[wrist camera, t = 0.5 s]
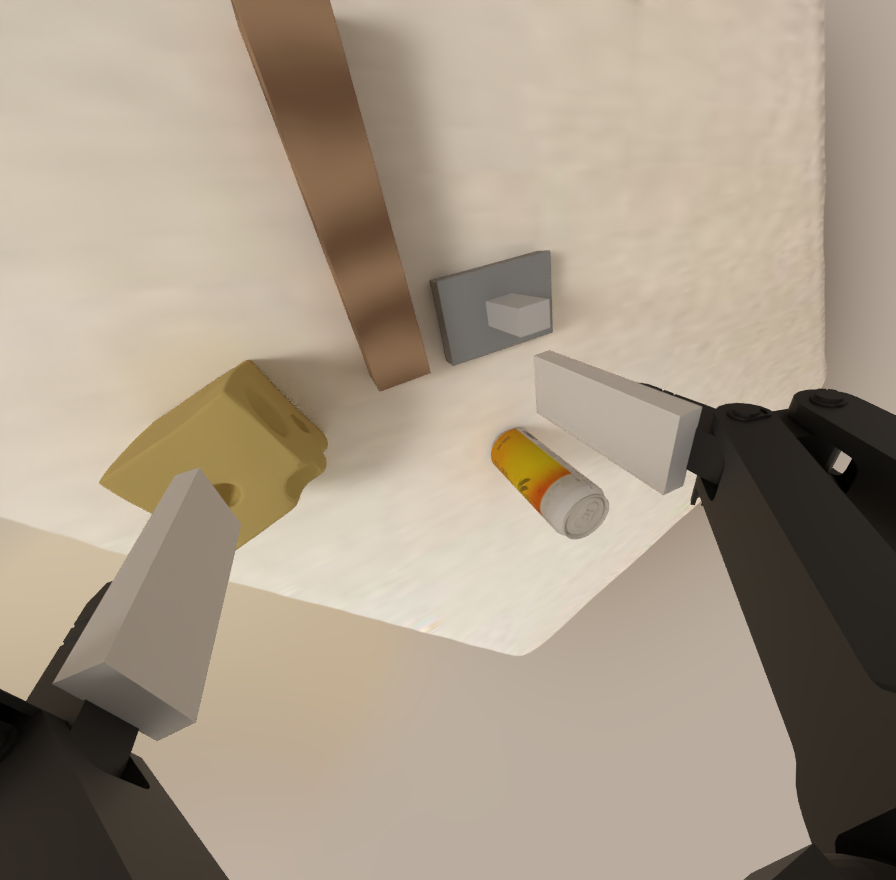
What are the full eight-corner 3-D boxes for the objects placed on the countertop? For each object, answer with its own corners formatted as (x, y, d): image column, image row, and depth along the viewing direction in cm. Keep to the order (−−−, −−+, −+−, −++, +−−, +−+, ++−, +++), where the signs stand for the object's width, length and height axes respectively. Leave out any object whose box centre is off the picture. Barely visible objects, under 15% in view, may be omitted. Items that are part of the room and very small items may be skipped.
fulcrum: (429, 280, 32) (463, 286, 25) (538, 250, 34) (594, 249, 28) (446, 360, 36) (478, 383, 29) (541, 329, 38) (591, 343, 32)
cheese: (327, 433, 35) (335, 486, 27) (240, 493, 34) (221, 567, 26) (247, 349, 29) (225, 385, 21) (141, 421, 29) (76, 487, 20)
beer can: (480, 461, 44) (549, 540, 32) (501, 420, 42) (583, 487, 30) (514, 469, 47) (590, 544, 35) (535, 432, 45) (622, 496, 33)
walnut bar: (238, 27, 21) (223, -28, 17) (316, 17, 22) (319, -38, 18) (370, 375, 34) (379, 391, 30) (415, 359, 35) (430, 372, 31)
